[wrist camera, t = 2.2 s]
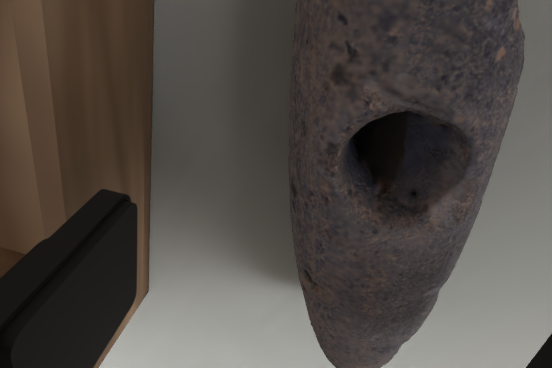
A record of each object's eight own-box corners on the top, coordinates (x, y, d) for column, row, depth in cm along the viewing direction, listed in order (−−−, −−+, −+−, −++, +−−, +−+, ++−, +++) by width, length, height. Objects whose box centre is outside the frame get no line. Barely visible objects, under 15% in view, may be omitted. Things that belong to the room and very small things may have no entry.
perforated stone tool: (410, 305, 19) (426, 470, 13) (295, 286, 20) (260, 433, 14) (514, -96, 11) (664, -138, 5) (320, -99, 12) (267, -138, 6)
